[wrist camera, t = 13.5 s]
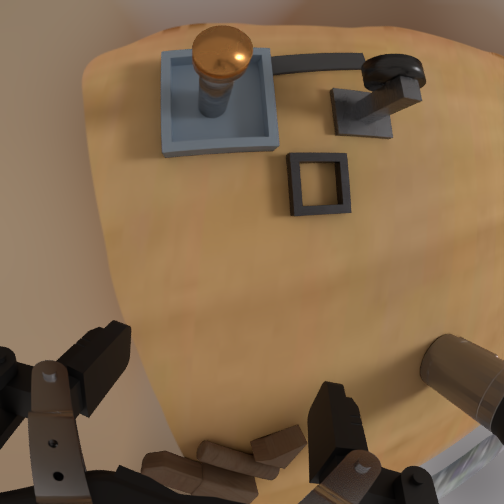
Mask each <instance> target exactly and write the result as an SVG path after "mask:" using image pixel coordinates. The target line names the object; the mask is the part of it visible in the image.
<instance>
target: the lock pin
mask: <svg viewBox="0 0 504 504" xmlns="http://www.w3.org/2000/svg"><path fill="white" fill-rule="evenodd" d="M252 55H253V45H252V42H251V40H250V39H249V37H248V36H247V35H246V34H245V33H244V32H242V31H241V30H239V29H237V28H234V27H230V26H214V27H210V28H208V29H206V30H204V31H202V32H201V33H200V34H199V35H198V36H197V37H196V38H195V40H194V42H193V46H192V64H193V68H194V70H195V72H196V73H197V74H198V75H199V91H198V109H199V111H200V113H201V114H202V115H204V116H205V117H208V118H217V117H219V116H221V115H222V114H224V112H225V111H226V108H227V105H228V102H229V99H230V95H231V92H232V89H233V86H234V83H235V80H237V79H239V78H240V77H241V76H242V75H243V74H244V73H245V72H246V70H247V68H248V65H249V63H250V60H251V58H252Z"/></svg>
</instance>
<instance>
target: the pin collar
mask: <svg viewBox="0 0 504 504" xmlns="http://www.w3.org/2000/svg"><path fill="white" fill-rule="evenodd" d="M286 161H287V173H288V186H289V200H290V215H291V216H304V215H320V214H338V213H351V199H350V185H349V172H348V161H347V153H289V154H287V155H286ZM299 163H335V173H336V186H337V200H338V205H321V206H302V191H301V178H300V166H299Z"/></svg>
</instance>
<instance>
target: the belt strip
mask: <svg viewBox="0 0 504 504" xmlns="http://www.w3.org/2000/svg"><path fill="white" fill-rule="evenodd" d="M364 62H365V58H364V56H363V53H316V54H298V55H285V56H274V57H271V64H272V73H273V75H280V74H290V73H301V72H313V71H330V70H361V66H362V64H363V63H364Z"/></svg>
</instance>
